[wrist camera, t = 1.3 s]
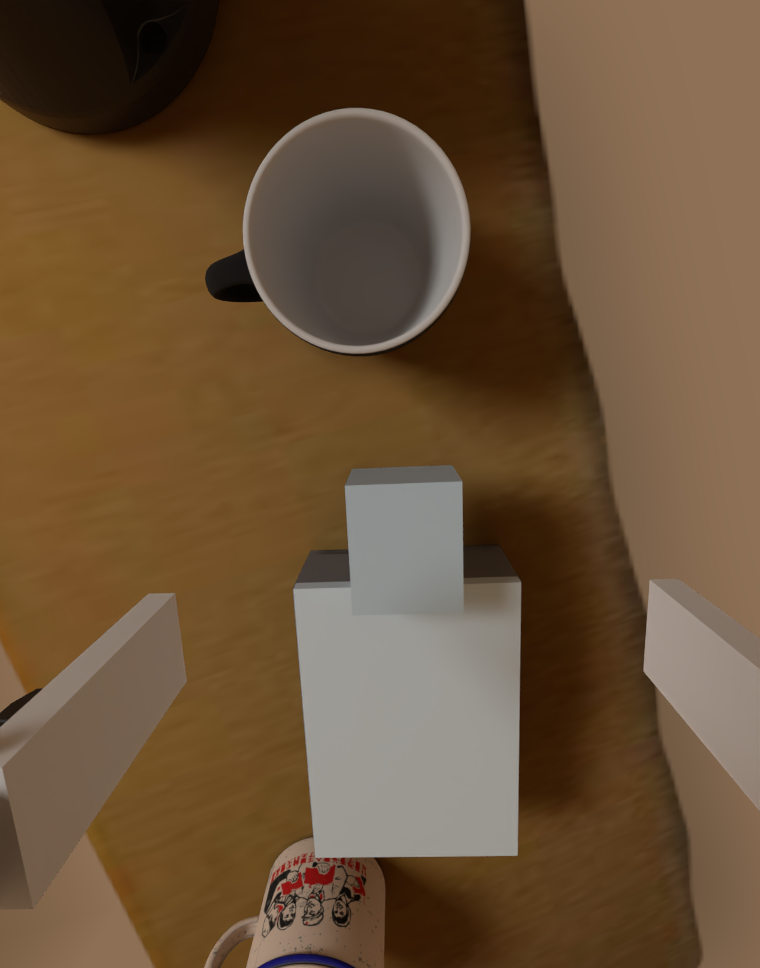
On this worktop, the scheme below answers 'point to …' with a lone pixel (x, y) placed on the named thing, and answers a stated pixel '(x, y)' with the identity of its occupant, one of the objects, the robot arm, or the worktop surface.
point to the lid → (410, 681)
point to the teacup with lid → (314, 914)
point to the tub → (337, 569)
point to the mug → (351, 233)
